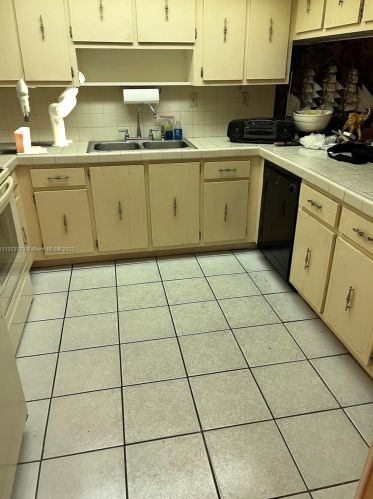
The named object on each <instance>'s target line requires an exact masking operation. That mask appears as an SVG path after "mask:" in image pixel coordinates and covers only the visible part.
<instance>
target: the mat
mask: <svg viewBox="0 0 373 499" xmlns="http://www.w3.org/2000/svg"><path fill="white" fill-rule="evenodd" d="M32 155H48V151H47V149H46V147H42V146H31V147H30V148H29V149H28V150H27V151H26V152H25V153H21V152H17V151H16V156H32Z"/></svg>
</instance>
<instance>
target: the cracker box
mask: <svg viewBox="0 0 373 499" xmlns="http://www.w3.org/2000/svg"><path fill="white" fill-rule="evenodd" d="M13 133H14V140H15V147H16V153H17V152H21V153H25V152H26V151H27V150H28V149H29V148H30V147H32V144H31V134H30V127H23V126H22V127H20V128H18V129H17V130H16V131H14V132H13Z"/></svg>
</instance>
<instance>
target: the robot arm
mask: <svg viewBox="0 0 373 499" xmlns="http://www.w3.org/2000/svg"><path fill="white" fill-rule="evenodd" d="M78 72H79V80H80V83H83V84H84V82H85V77H84V75H83V74H82V73H81V72H80V71H78ZM15 88H16V96H17V98H19V102H20V103H19V104H20V107H21V111H22V113H23V119H24V123H30V117H29V112H30V106H29V99H28V98H29V97H30V96H29V90H28V88H36V87H29V86H28V87H27V86H26V84H25V83H24V81H23V79H22V78H21V80H19V81H18V82H17V84H15ZM78 93H79V87H78V88H76V87H68V86H67V87H66V88H65V90H64V91H63V92H62V93H61V94H60V95H59V96H58V99H57V100H58V101H57V102H58V103H57V102H56V103H51V104H49V106H48V108H47V109H48V114H49V118H50V124H51V130H52V131H51V132H52V139H53V143H52V144H51V146H52V147H68V146H69V144H71V143H73V140H72V139H69V140H67V138H66V129H65V122H64V118H65V117H67V116H68V115H69V114H70V112H72V110H73V109H74V108H75V107H76V104H77V98H76V96H77V95H78Z"/></svg>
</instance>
